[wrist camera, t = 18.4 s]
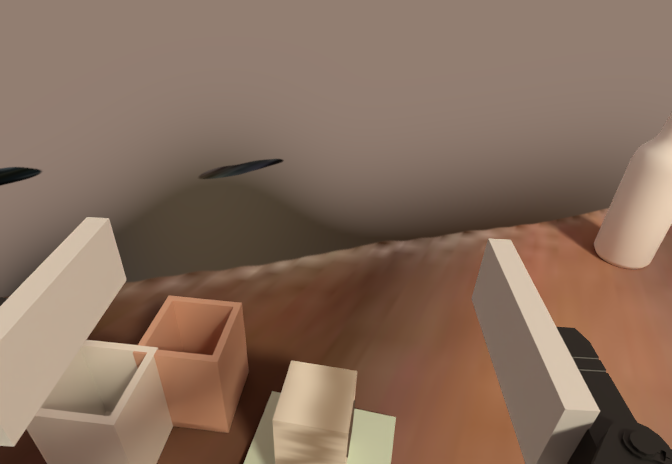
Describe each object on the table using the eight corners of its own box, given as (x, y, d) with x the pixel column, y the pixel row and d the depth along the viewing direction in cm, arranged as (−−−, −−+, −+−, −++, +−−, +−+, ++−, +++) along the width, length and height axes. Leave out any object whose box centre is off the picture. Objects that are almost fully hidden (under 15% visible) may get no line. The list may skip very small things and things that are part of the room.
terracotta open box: (154, 424, 47) (132, 352, 41) (183, 364, 53) (168, 295, 47) (228, 432, 46) (217, 362, 40) (248, 371, 53) (241, 302, 47)
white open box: (59, 484, 41) (17, 413, 35) (105, 409, 48) (76, 338, 42) (142, 495, 41) (113, 425, 35) (176, 417, 47) (158, 347, 41)
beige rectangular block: (277, 491, 41) (272, 419, 35) (293, 430, 46) (291, 359, 40) (342, 503, 40) (349, 433, 34) (351, 441, 45) (359, 370, 39)
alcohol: (656, 258, 76) (753, 80, 60) (638, 278, 71) (739, 90, 55) (603, 235, 82) (679, 67, 65) (583, 253, 77) (660, 75, 60)
